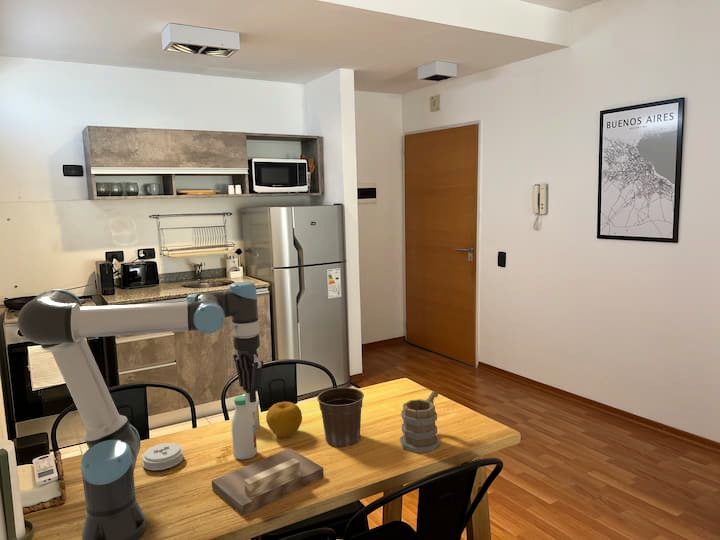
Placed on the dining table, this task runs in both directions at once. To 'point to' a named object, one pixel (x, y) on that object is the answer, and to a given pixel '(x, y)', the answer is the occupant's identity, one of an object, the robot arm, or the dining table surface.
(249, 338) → the robot arm
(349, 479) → the dining table surface
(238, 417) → the milk bottle
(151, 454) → the lid
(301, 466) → the stool seat
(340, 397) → the plant pot
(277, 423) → the apple
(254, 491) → the folding leg
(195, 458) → the dining table surface
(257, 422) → the supplement bottle
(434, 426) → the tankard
